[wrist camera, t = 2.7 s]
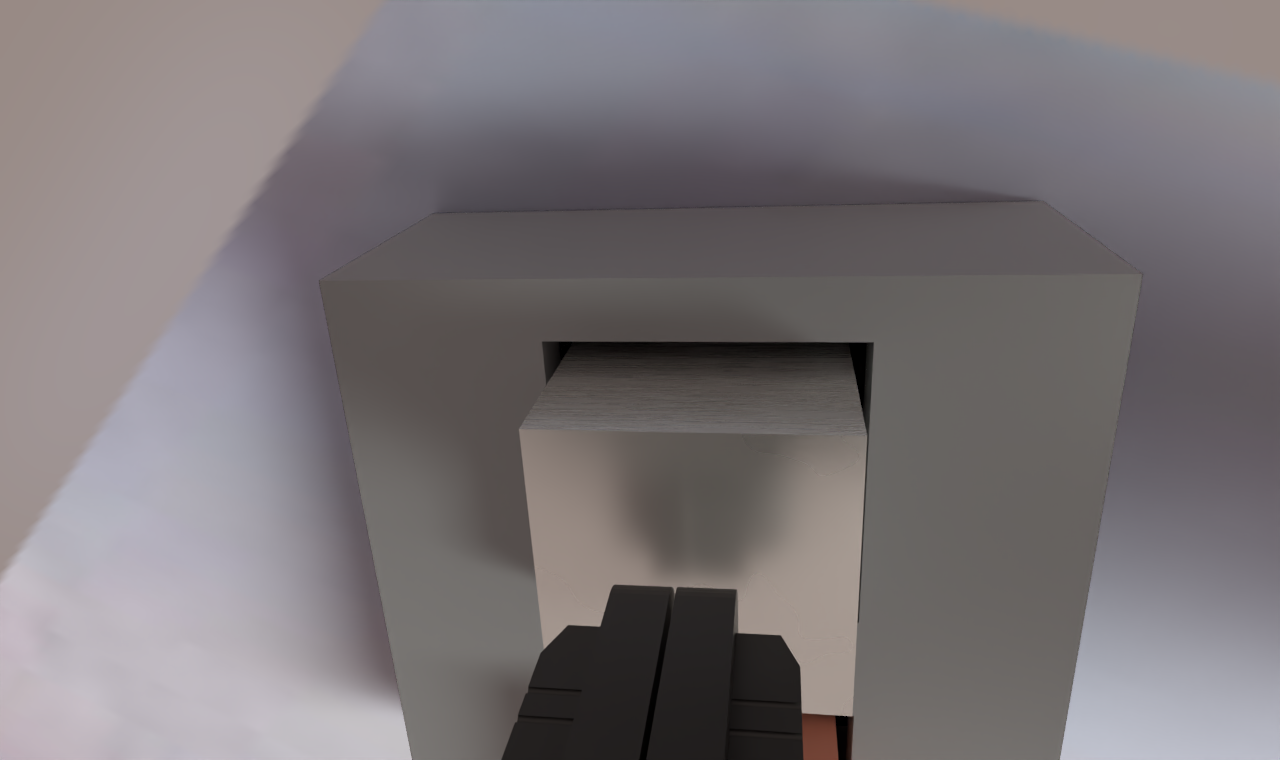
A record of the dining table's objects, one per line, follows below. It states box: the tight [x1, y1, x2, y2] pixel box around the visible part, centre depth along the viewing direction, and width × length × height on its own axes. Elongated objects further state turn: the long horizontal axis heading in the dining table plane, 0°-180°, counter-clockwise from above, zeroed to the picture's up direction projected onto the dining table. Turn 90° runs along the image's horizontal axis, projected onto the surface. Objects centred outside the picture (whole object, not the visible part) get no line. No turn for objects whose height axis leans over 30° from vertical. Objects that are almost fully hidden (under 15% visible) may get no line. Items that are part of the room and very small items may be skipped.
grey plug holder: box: [319, 201, 1143, 760], centre depth 18 cm, size 12×14×5 cm
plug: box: [519, 341, 867, 716], centre depth 14 cm, size 4×4×4 cm
